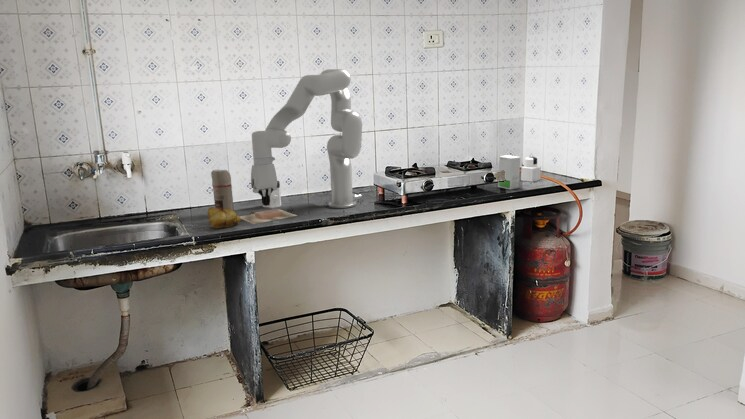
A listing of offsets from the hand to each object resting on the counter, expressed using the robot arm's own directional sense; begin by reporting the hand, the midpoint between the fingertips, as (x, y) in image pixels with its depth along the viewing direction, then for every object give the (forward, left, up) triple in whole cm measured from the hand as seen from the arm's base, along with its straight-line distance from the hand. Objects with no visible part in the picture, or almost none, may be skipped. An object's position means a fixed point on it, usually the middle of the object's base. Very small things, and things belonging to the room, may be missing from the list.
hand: (266, 205), depth 257 cm
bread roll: (+18, -1, -6) cm, 19 cm away
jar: (-11, -17, -6) cm, 21 cm away
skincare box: (-118, +27, -6) cm, 121 cm away
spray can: (+10, -21, -6) cm, 24 cm away
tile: (-5, 0, -4) cm, 6 cm away
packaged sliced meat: (0, 0, -6) cm, 6 cm away
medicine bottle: (-140, +22, -6) cm, 142 cm away
